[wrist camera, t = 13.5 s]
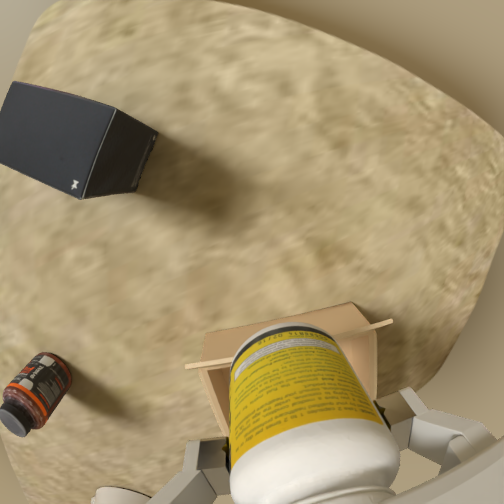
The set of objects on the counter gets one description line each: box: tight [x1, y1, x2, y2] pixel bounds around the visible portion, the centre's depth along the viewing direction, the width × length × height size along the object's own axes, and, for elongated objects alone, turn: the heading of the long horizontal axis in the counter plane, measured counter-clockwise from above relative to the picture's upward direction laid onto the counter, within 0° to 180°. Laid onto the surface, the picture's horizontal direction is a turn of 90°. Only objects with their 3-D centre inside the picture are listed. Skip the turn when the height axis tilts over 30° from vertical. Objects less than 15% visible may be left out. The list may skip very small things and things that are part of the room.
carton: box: [198, 302, 377, 437], centre depth 29 cm, size 15×16×6 cm
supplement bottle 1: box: [0, 352, 71, 437], centre depth 26 cm, size 6×6×11 cm
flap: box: [185, 318, 393, 369], centre depth 21 cm, size 6×14×1 cm
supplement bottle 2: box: [229, 322, 400, 504], centre depth 9 cm, size 5×5×10 cm
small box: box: [0, 81, 158, 200], centre depth 20 cm, size 11×6×10 cm, turn 66°
